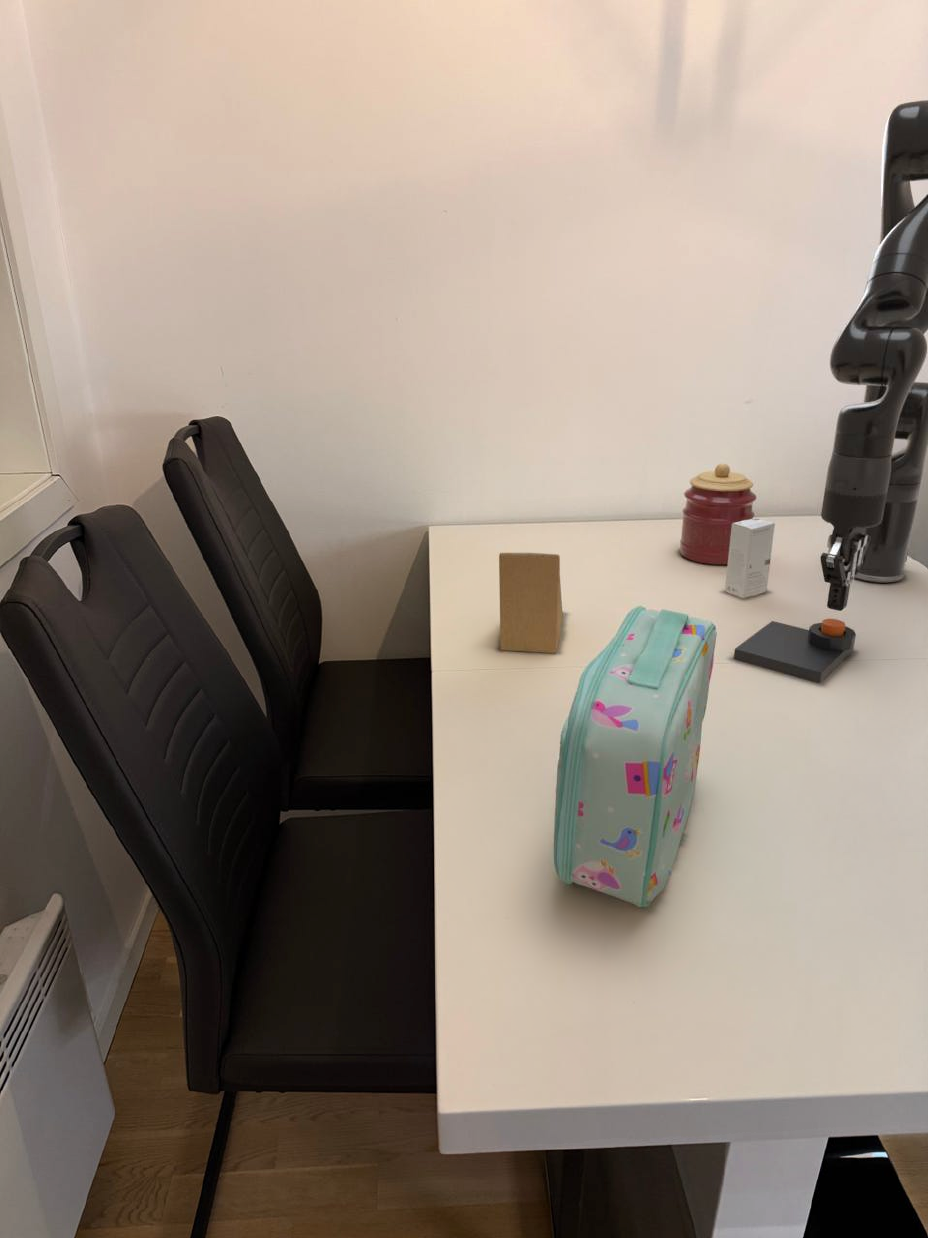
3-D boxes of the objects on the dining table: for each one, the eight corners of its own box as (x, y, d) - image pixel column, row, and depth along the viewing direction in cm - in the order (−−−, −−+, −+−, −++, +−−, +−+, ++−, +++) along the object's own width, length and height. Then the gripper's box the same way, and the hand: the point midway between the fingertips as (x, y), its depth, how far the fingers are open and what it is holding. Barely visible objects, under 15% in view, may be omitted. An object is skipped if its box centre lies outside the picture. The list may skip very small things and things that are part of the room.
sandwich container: (564, 613, 135) (567, 523, 129) (557, 653, 121) (560, 554, 115) (511, 610, 136) (512, 521, 130) (498, 650, 122) (498, 552, 117)
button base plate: (771, 630, 127) (774, 608, 126) (857, 651, 120) (861, 629, 118) (733, 659, 118) (736, 637, 117) (823, 685, 110) (827, 661, 109)
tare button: (825, 627, 120) (826, 616, 120) (846, 632, 118) (848, 622, 118) (817, 633, 118) (819, 623, 117) (839, 638, 116) (841, 628, 116)
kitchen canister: (757, 550, 162) (768, 460, 156) (738, 570, 152) (749, 474, 146) (691, 541, 169) (699, 453, 162) (669, 559, 159) (676, 466, 152)
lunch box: (612, 752, 96) (622, 576, 88) (704, 770, 92) (724, 588, 84) (540, 904, 73) (545, 686, 65) (659, 936, 69) (680, 709, 61)
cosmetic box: (744, 599, 139) (752, 529, 134) (722, 591, 143) (730, 522, 138) (768, 591, 142) (777, 522, 138) (746, 584, 146) (754, 516, 141)
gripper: (869, 501, 103) (847, 630, 110) (901, 480, 112) (879, 600, 119) (808, 492, 108) (791, 616, 115) (844, 472, 117) (826, 588, 124)
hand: (836, 607), depth 117 cm, fingers closed
